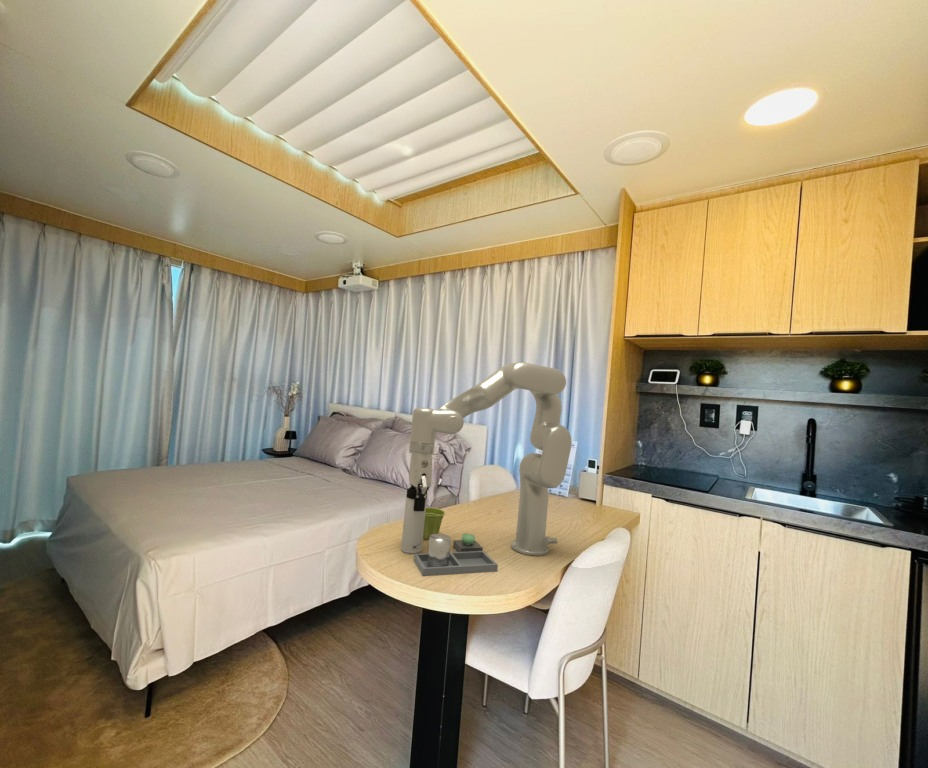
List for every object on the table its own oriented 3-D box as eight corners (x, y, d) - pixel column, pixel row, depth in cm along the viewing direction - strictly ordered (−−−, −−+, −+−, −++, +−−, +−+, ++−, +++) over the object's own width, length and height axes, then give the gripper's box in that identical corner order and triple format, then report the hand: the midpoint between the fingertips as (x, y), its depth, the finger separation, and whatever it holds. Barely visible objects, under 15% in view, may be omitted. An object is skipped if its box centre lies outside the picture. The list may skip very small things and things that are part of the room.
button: (470, 548, 127) (472, 533, 127) (475, 553, 123) (477, 538, 123) (459, 549, 125) (460, 533, 125) (463, 554, 121) (464, 538, 122)
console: (473, 549, 128) (474, 539, 129) (481, 557, 122) (482, 547, 122) (452, 549, 126) (453, 540, 126) (460, 558, 119) (461, 548, 120)
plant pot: (441, 543, 131) (444, 516, 131) (413, 540, 131) (415, 513, 132) (443, 534, 140) (445, 509, 141) (416, 531, 140) (419, 506, 141)
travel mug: (418, 558, 117) (425, 489, 118) (397, 554, 118) (404, 486, 119) (425, 551, 123) (431, 485, 124) (404, 547, 124) (411, 482, 125)
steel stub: (444, 561, 114) (447, 533, 114) (451, 570, 108) (454, 540, 109) (424, 562, 112) (427, 534, 112) (430, 572, 106) (432, 541, 107)
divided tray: (482, 559, 120) (483, 550, 121) (497, 574, 111) (497, 564, 111) (413, 563, 113) (414, 553, 113) (422, 579, 104) (423, 568, 104)
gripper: (441, 453, 115) (435, 516, 114) (426, 445, 131) (420, 500, 130) (416, 452, 113) (410, 516, 112) (403, 444, 129) (398, 500, 128)
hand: (416, 507), depth 121 cm, fingers closed on travel mug, 6 cm apart
